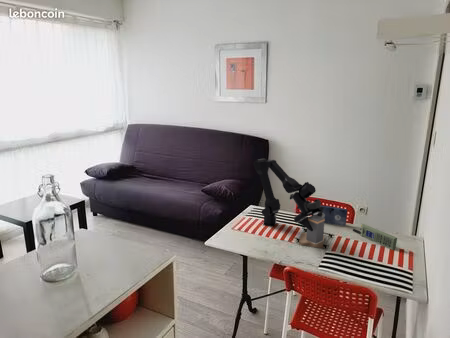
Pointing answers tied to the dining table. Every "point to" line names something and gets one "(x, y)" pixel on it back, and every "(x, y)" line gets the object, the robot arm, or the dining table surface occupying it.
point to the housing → (315, 229)
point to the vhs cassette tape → (334, 215)
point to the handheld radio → (378, 236)
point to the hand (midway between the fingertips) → (317, 228)
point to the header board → (308, 243)
